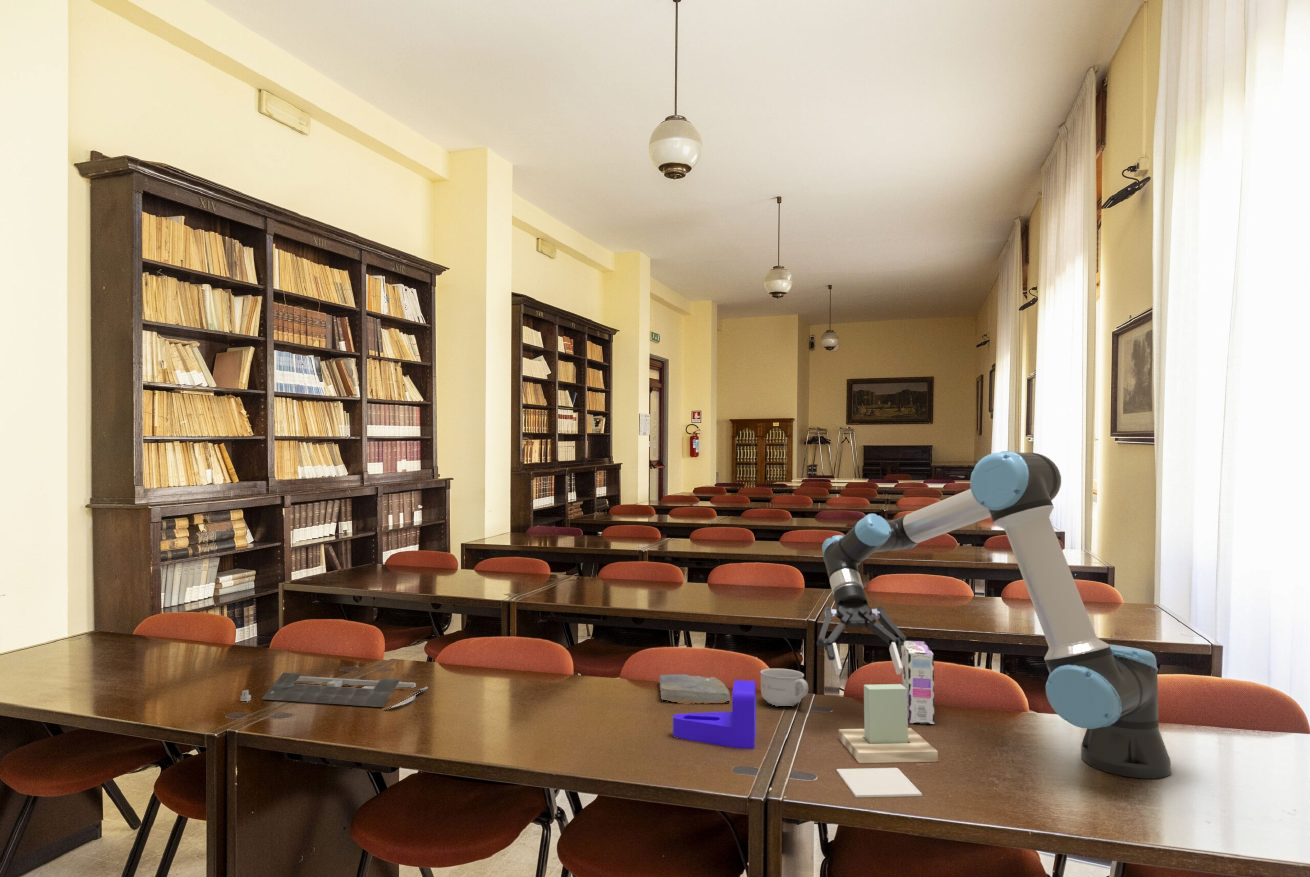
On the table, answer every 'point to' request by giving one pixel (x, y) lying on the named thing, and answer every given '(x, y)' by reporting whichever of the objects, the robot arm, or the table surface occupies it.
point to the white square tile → (878, 782)
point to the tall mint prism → (885, 714)
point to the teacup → (783, 686)
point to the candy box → (918, 681)
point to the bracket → (723, 721)
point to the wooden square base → (887, 748)
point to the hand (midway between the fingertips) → (869, 671)
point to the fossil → (692, 688)
